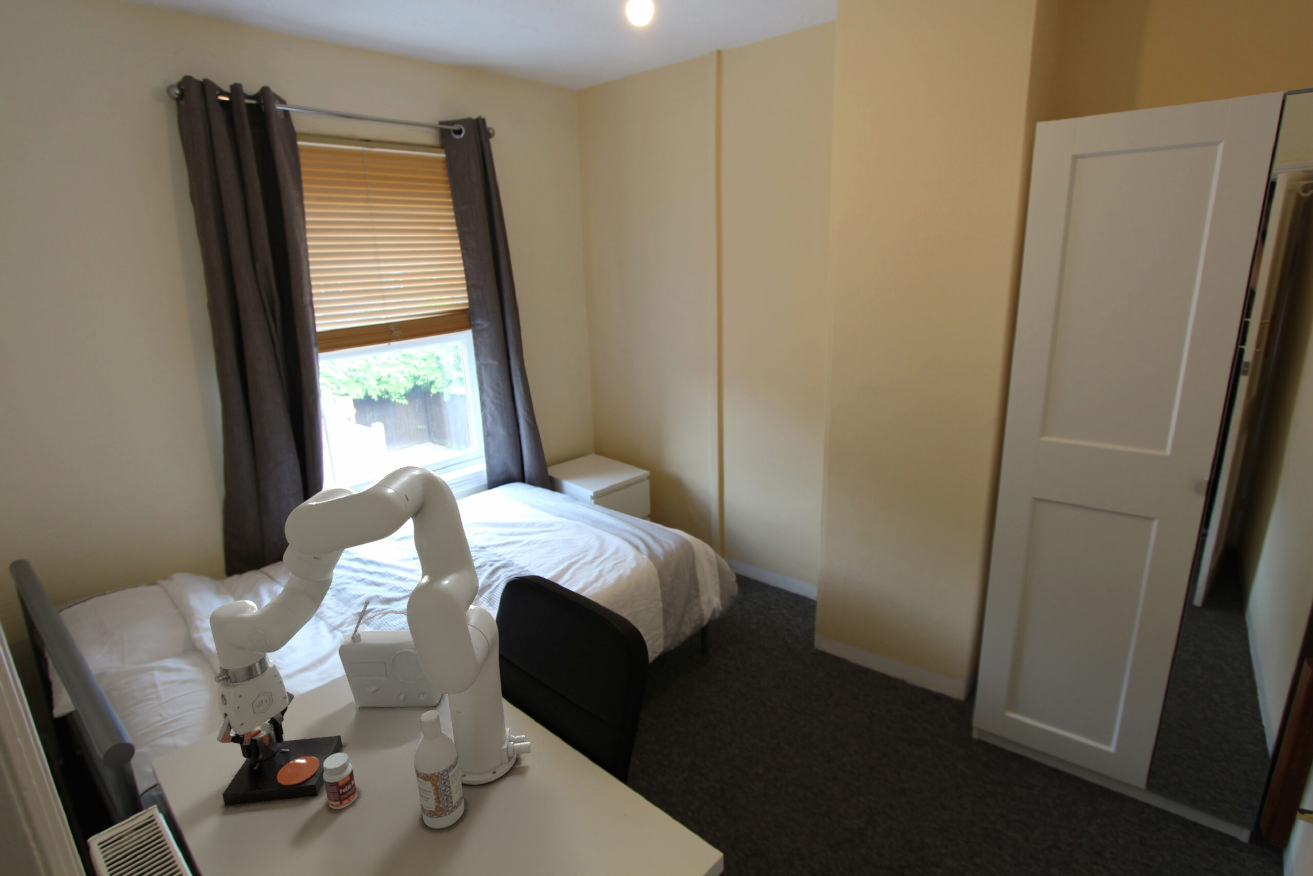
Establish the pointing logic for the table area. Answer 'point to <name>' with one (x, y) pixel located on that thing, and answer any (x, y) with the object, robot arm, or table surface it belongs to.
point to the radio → (385, 668)
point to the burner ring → (298, 770)
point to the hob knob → (264, 741)
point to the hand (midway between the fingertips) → (264, 748)
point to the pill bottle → (339, 781)
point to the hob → (261, 776)
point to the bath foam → (438, 774)
